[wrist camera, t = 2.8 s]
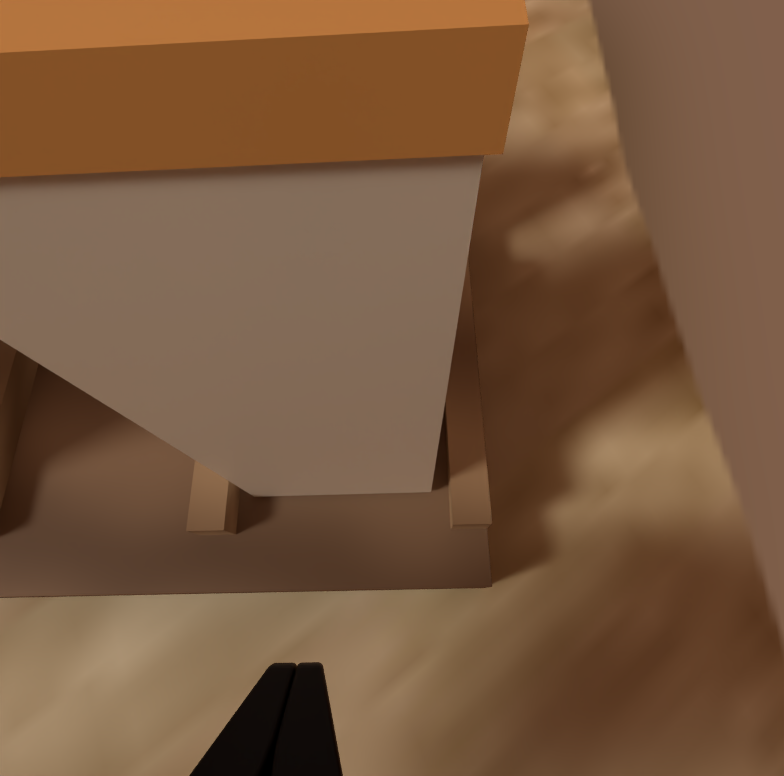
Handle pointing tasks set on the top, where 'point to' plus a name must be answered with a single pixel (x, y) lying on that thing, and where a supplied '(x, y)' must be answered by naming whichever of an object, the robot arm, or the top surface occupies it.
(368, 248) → the orange-topped pillar
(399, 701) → the top surface
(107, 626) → the top surface
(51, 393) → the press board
